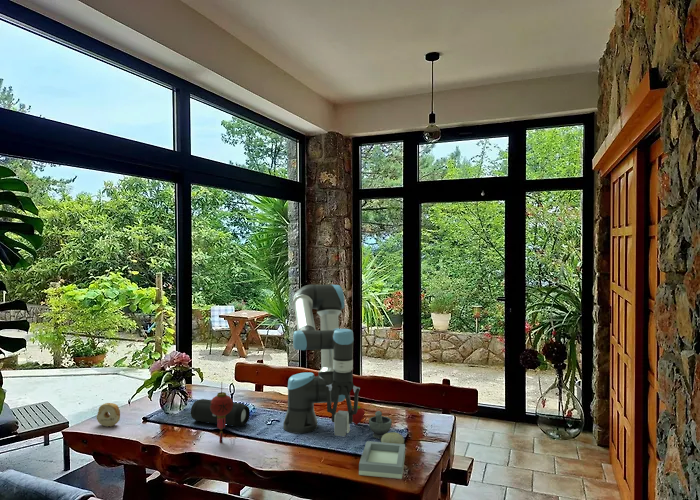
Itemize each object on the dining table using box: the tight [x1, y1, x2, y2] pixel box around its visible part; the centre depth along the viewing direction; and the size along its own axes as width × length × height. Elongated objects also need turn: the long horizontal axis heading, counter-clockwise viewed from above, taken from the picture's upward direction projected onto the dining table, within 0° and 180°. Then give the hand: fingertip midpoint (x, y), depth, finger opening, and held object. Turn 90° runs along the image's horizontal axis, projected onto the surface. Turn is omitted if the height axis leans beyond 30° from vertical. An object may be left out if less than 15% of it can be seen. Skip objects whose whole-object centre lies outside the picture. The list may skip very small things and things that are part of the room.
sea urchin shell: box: [380, 431, 405, 444], centre depth 189 cm, size 9×8×8 cm
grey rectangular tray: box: [358, 440, 406, 480], centre depth 172 cm, size 15×20×4 cm
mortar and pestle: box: [368, 410, 393, 440], centre depth 198 cm, size 11×9×12 cm
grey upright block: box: [334, 410, 348, 437], centre depth 178 cm, size 4×7×7 cm, turn 170°
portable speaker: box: [190, 398, 251, 427], centre depth 212 cm, size 26×10×10 cm, turn 73°
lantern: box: [210, 383, 233, 444], centre depth 190 cm, size 10×10×30 cm
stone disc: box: [96, 402, 121, 427], centre depth 208 cm, size 10×4×10 cm, turn 79°
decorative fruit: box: [352, 405, 366, 426], centre depth 212 cm, size 6×8×10 cm
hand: (342, 430), depth 178 cm, fingers closed on grey upright block, 4 cm apart
